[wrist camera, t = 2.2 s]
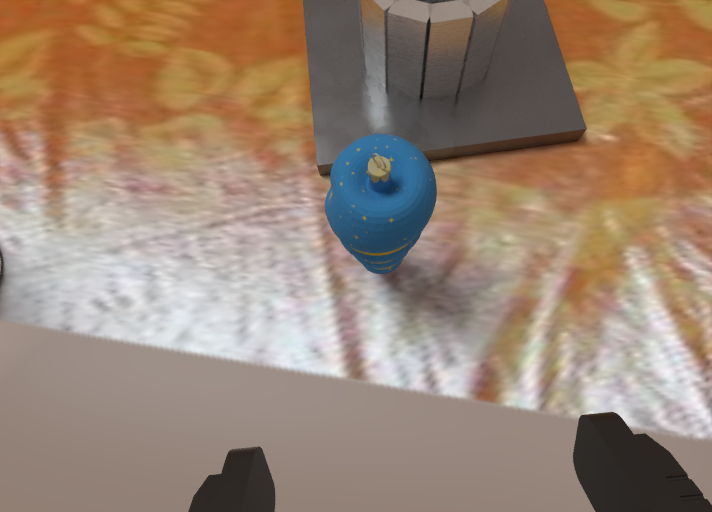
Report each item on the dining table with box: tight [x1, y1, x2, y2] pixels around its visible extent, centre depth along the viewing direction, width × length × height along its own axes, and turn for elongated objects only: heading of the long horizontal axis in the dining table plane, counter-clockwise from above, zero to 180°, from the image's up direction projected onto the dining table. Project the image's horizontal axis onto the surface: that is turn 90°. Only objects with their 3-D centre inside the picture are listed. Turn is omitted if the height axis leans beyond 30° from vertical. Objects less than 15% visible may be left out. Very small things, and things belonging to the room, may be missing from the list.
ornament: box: [325, 134, 437, 274], centre depth 22 cm, size 5×5×15 cm
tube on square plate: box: [303, 0, 586, 175], centre depth 31 cm, size 20×20×8 cm
